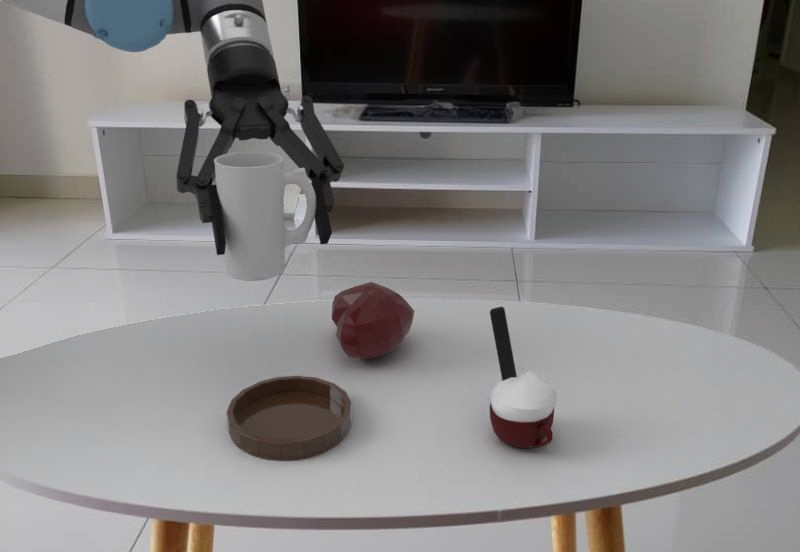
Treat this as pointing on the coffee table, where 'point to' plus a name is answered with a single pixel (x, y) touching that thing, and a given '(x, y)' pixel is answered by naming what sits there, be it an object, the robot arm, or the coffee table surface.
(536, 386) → the cocoa
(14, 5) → the robot arm
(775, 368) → the coffee table surface
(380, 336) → the heart
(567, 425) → the coffee table surface
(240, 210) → the mug
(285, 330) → the coffee table surface
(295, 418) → the tray
